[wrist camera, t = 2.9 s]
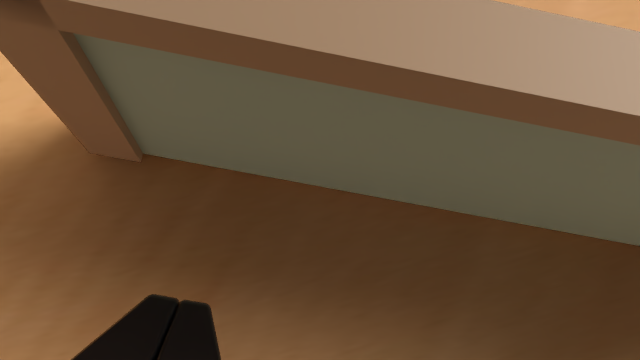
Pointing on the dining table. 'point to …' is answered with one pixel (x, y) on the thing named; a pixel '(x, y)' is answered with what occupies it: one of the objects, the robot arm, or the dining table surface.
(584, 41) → the gate
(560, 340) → the dining table surface
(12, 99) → the dining table surface
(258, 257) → the dining table surface
